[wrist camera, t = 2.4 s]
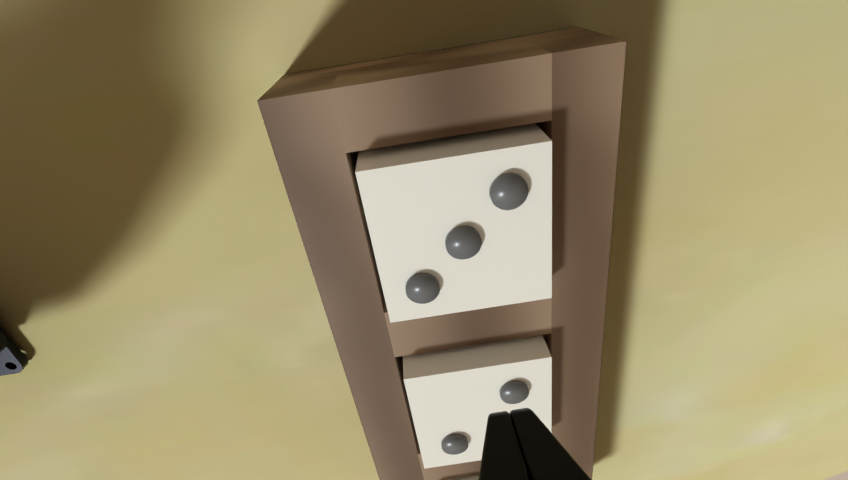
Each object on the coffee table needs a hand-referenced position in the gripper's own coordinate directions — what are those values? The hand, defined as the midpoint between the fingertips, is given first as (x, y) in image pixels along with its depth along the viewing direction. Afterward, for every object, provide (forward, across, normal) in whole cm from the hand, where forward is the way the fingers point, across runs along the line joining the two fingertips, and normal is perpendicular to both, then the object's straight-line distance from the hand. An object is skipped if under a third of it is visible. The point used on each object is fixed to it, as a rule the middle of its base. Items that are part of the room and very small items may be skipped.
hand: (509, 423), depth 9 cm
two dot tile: (+10, 0, +9) cm, 13 cm away
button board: (+12, 0, +9) cm, 15 cm away
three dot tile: (+10, 0, 0) cm, 10 cm away
